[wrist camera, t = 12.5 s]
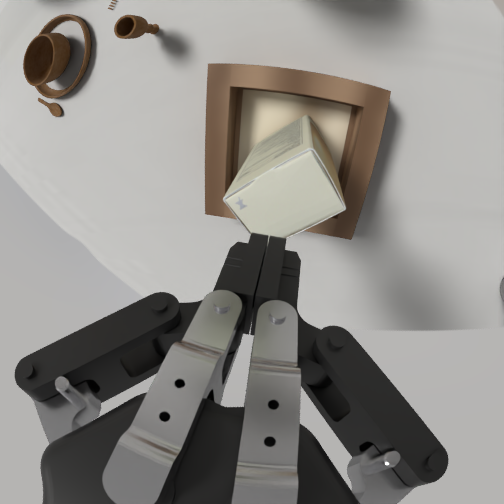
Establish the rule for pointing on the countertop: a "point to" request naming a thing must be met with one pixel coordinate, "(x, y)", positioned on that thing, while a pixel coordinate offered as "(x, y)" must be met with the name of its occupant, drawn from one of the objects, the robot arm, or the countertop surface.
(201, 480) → the robot arm
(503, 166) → the countertop surface
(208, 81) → the socket block
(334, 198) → the skincare box
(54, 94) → the place setting
